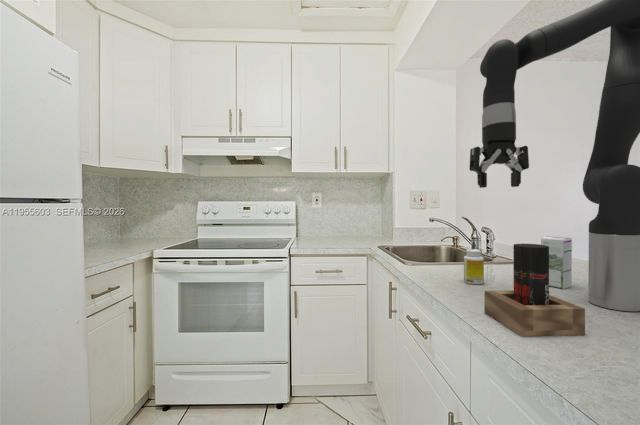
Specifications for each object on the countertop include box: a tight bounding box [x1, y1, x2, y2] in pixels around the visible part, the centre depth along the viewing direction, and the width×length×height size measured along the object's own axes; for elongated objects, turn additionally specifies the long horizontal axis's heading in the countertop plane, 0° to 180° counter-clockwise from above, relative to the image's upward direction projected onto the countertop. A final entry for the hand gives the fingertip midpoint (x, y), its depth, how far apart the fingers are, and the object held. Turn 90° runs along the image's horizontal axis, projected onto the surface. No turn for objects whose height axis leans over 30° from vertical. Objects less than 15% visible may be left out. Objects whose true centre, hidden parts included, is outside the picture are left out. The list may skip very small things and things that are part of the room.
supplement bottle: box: [463, 249, 485, 285], centre depth 91 cm, size 6×6×10 cm
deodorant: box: [513, 243, 550, 305], centre depth 60 cm, size 6×6×15 cm
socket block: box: [483, 289, 586, 337], centre depth 60 cm, size 12×12×5 cm
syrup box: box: [540, 235, 573, 290], centre depth 86 cm, size 6×6×14 cm
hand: (499, 187), depth 76 cm, fingers open, 8 cm apart
